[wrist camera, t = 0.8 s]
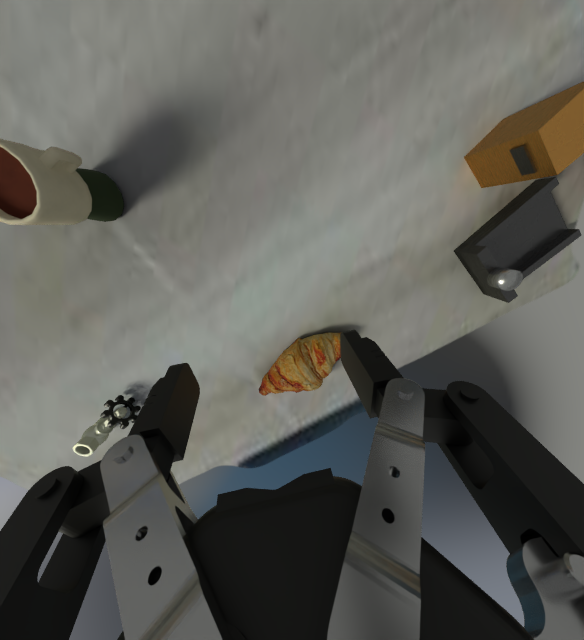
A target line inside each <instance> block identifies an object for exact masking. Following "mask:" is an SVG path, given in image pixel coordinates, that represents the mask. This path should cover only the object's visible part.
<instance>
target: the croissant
mask: <svg viewBox="0 0 584 640" xmlns="http://www.w3.org/2000/svg"><path fill="white" fill-rule="evenodd" d="M340 334H341V332H340V333H331V332H330V333H325V334H317V335H313V336H310V337H307V338H304V339H301V338H298V339H297V340H296V341H295V342H294V343H293V344H292V345H291V346H290V347H289V348H287V349H286V350H285V351H284V352H283V353H282V354H281V355H280V356H279V358H278V359H277V361H276V362H275V363H274V364H273V366H272V367H271V368H270V370H269V372H268V373H267V374H266V375H265V376H264V378H263V380H262V384H261V386H260V388H259V393H261V394H262V395H267V394H268V393H271V392H272V393H275V394H276V393H281V392H282V393H283V392H284V391H295V392H296V393H297V392H300V391H303V390H305V391H311V390H315V389H318V388H319V387H320V386H321V385H322V383H323V378H325V377H327V376H328V375H329V373H330V372H331V371H332V367H333V365H334V364H335V362H336V361H337V360H339V359H340V358H341V355H340Z"/></svg>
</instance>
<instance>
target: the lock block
mask: <svg viewBox="0 0 584 640" xmlns="http://www.w3.org/2000/svg"><path fill="white" fill-rule="evenodd" d="M583 153H584V82H581V83H579V84H577V85H575V86H573V87H571V88H569V89H566V90H564V91H562V92H560V93H558V94H556V95H554V96H552V97H549V98H547V99H545V100H543V101H541V102H539V103H537V104H534V105H532V106H530V107H528V108H526V109H524V110H522V111H519V112H517V113H515V114H513V115H511V116H509V117H507V118H504V119H503V120H502V121H501V122H500V123H499V124H498V125H497V126H496V127H495V128H494V129H493V130H492V131H491V132H490V133H489V134H487V135H486V136H485V137H484V138H483V139H482V140H481V141H480V142H479V143H478V144H477V145H476V146H475V147H474V148H473V149H472V150H471V151H470V152H469V153H468V154H467V155H466V156H465V157H464V158H465V160H466V162H467V163H468V165H469V167H470V169H471V170H472V172H473V174H474V176H475V177H476V179H477V181H478V183H479V184H480V186H481V188H485V187H491V186H497V185H503V184H508V183H514V182H520V181H526V180H531V179H537V178H543V177H549V176H554V175H558V174H559V173H560V172H562V171H563V170H564V169H565V168H566V167H567V166H569V165H570V164H571V163H572V162H573V161H575V160H576V159H577V158H578V157H579V156H581V155H582V154H583Z"/></svg>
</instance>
